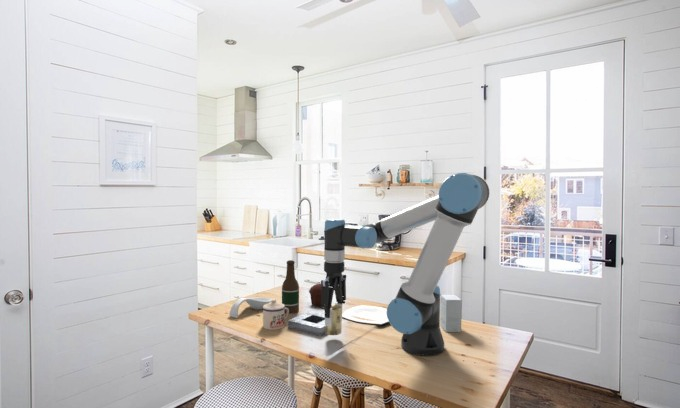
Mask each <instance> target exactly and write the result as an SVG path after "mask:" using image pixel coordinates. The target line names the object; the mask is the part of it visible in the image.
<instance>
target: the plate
mask: <svg viewBox="0 0 680 408" xmlns="http://www.w3.org/2000/svg"><path fill="white" fill-rule="evenodd" d="M357 317H358V318H357ZM360 318H361V319H360ZM342 319H346V320H348V321H352V322H356V323H359V324H360V323H361V324H368V325H375V326H382V325H384V324H387V323H389V320H388V318H387V308H385V307H382V306H375V305H374V306H373V305H362V304H361V305H360V304H359V305H357V306H353V307H351V308H348V309H346V310H345V311H343V312H342ZM365 319H366V320H365Z"/></svg>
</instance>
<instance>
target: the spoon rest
mask: <svg viewBox="0 0 680 408" xmlns="http://www.w3.org/2000/svg"><path fill="white" fill-rule="evenodd" d="M272 299H273V298H270V297H263V296H261V297H257V296H256V297H250V298H249V297H248V298H246V297H240V298H238V299H236V300H235V302H234V303H233V304H232V306H231V307H230V311H229V317H230V318H234V319H238V318H239V308H240V306H241V305H242V304H243V303H244V302H245V303H247V305H248V306H250V307H251V308H252V309H253V310H263V309H262V308H263V306H264V305H265V304H268V303H269V302H271V300H272Z"/></svg>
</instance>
